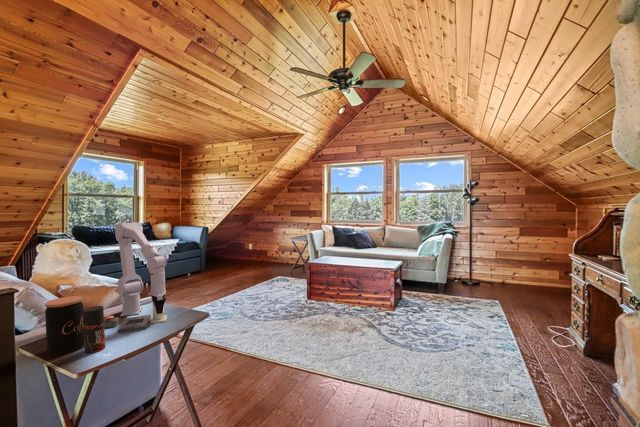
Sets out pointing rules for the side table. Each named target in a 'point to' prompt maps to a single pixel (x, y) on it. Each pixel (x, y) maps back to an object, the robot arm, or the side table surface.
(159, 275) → the robot arm
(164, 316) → the tray
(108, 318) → the plunger
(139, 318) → the housing
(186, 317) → the side table surface
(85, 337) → the deodorant
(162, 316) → the cartridge
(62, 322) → the coffee jar
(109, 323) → the console
